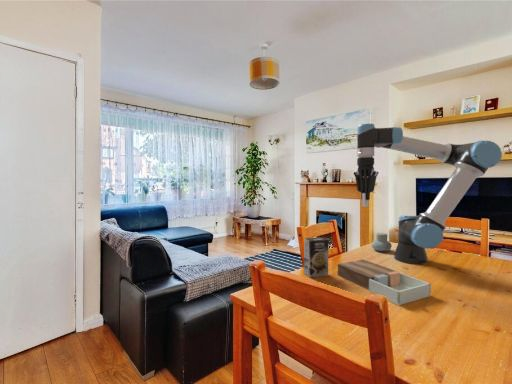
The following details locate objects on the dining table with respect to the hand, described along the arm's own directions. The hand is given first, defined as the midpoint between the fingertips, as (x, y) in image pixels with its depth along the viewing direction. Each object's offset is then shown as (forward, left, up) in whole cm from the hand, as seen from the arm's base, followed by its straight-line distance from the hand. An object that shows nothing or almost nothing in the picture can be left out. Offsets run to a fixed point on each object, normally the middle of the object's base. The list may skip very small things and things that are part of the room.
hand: (365, 206), depth 131 cm
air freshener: (-30, -16, -29) cm, 45 cm away
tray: (+13, +29, -29) cm, 43 cm away
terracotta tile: (+10, +23, -26) cm, 36 cm away
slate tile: (+17, +23, -26) cm, 38 cm away
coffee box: (+28, -1, -29) cm, 41 cm away
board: (+13, +13, -29) cm, 34 cm away
